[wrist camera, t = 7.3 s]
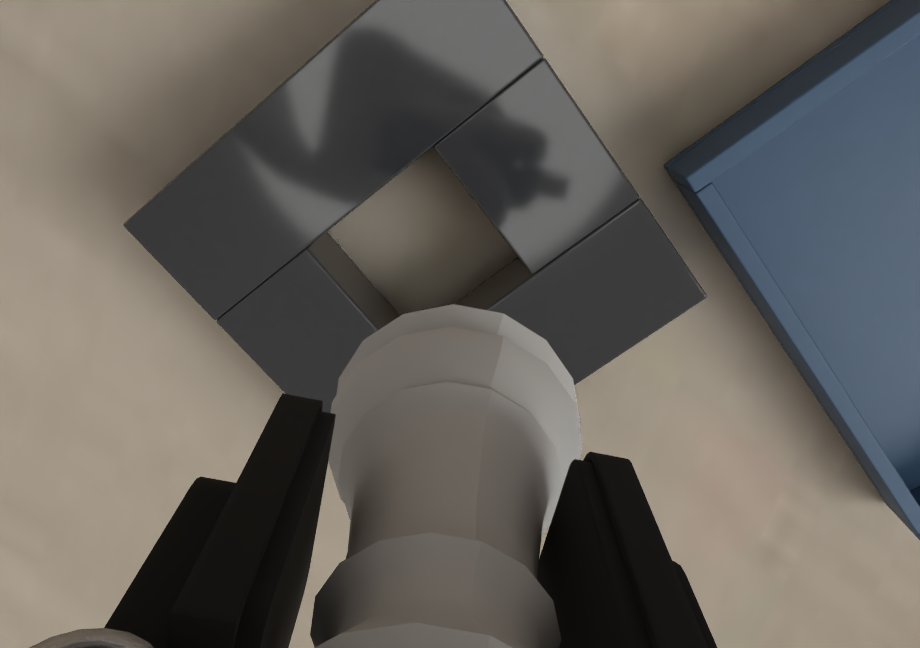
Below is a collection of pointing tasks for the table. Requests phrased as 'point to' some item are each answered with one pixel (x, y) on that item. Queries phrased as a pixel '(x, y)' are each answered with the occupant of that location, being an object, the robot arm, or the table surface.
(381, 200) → the table surface
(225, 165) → the square hole block
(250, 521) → the robot arm
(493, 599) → the rook chess piece
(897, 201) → the basin tray
